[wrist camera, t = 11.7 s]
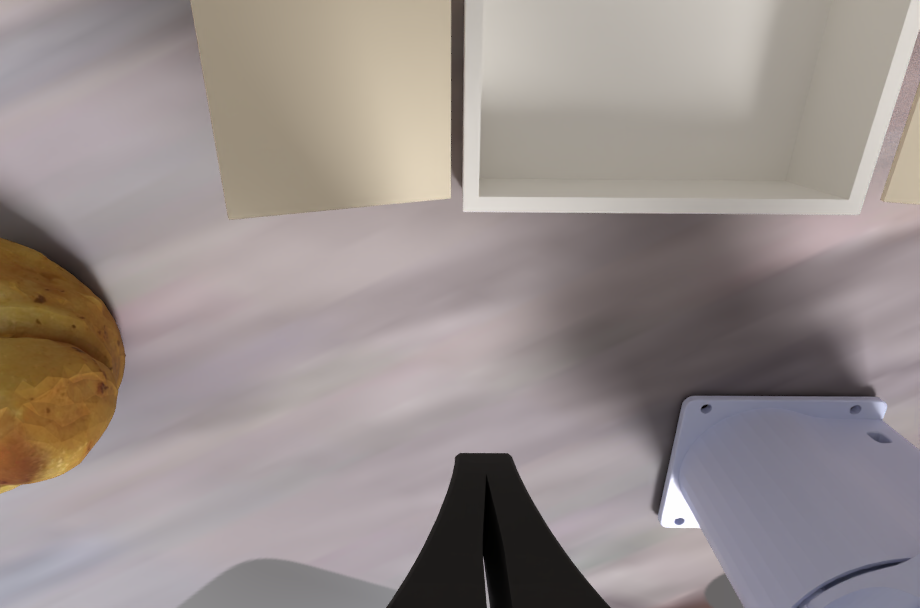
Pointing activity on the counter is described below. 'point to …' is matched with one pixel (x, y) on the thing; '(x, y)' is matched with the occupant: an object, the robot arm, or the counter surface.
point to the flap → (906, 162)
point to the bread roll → (51, 367)
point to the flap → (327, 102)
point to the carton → (679, 104)
